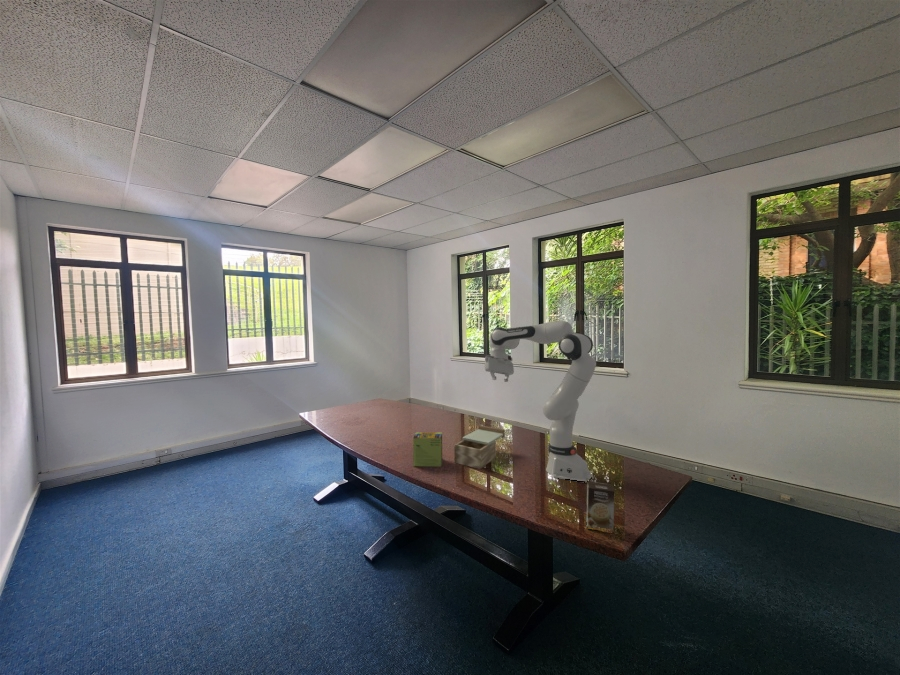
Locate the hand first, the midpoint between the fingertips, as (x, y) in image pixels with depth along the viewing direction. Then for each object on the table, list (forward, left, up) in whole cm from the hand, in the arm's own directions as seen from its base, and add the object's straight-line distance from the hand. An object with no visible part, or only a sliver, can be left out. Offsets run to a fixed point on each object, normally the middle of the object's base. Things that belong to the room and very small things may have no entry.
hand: (500, 380), depth 201 cm
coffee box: (-61, +43, -44) cm, 87 cm away
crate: (+10, +12, -44) cm, 46 cm away
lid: (+10, +2, -35) cm, 36 cm away
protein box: (+30, +29, -44) cm, 60 cm away
